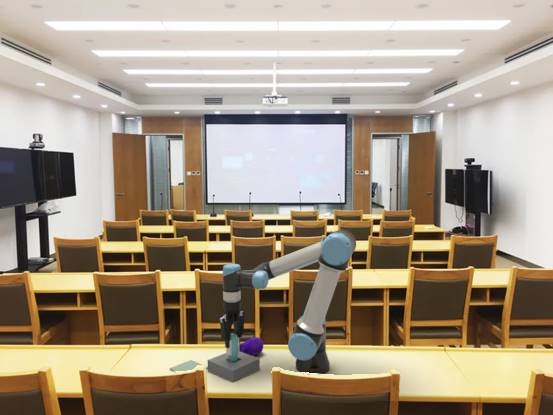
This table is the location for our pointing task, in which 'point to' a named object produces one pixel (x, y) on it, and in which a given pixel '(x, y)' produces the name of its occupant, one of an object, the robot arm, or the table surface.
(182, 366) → the mat
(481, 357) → the table surface
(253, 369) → the socket
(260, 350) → the toy
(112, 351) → the table surface
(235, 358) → the plug
